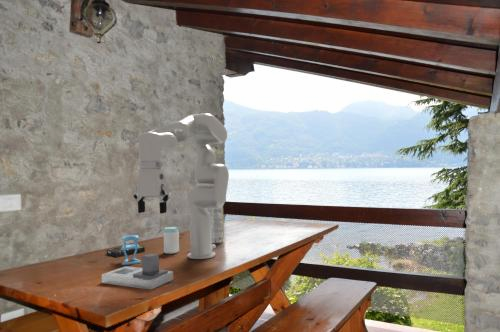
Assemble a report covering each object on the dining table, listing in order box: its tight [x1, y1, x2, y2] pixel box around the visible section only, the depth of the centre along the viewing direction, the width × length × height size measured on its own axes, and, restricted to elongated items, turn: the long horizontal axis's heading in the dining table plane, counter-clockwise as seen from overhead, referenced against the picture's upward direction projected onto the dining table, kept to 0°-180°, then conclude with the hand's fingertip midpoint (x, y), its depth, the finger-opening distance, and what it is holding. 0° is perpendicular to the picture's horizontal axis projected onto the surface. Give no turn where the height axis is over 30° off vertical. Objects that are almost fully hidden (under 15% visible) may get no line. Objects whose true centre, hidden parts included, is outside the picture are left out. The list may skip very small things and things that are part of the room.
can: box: [162, 226, 180, 255], centre depth 184 cm, size 7×7×12 cm
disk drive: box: [106, 245, 146, 258], centre depth 186 cm, size 10×3×15 cm
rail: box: [101, 265, 174, 291], centre depth 138 cm, size 12×22×3 cm, turn 65°
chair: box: [121, 234, 142, 266], centre depth 167 cm, size 8×8×12 cm
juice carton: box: [207, 205, 225, 244], centre depth 207 cm, size 9×8×24 cm
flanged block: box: [133, 253, 169, 279], centre depth 135 cm, size 8×8×9 cm
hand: (152, 212), depth 142 cm, fingers open, 9 cm apart
